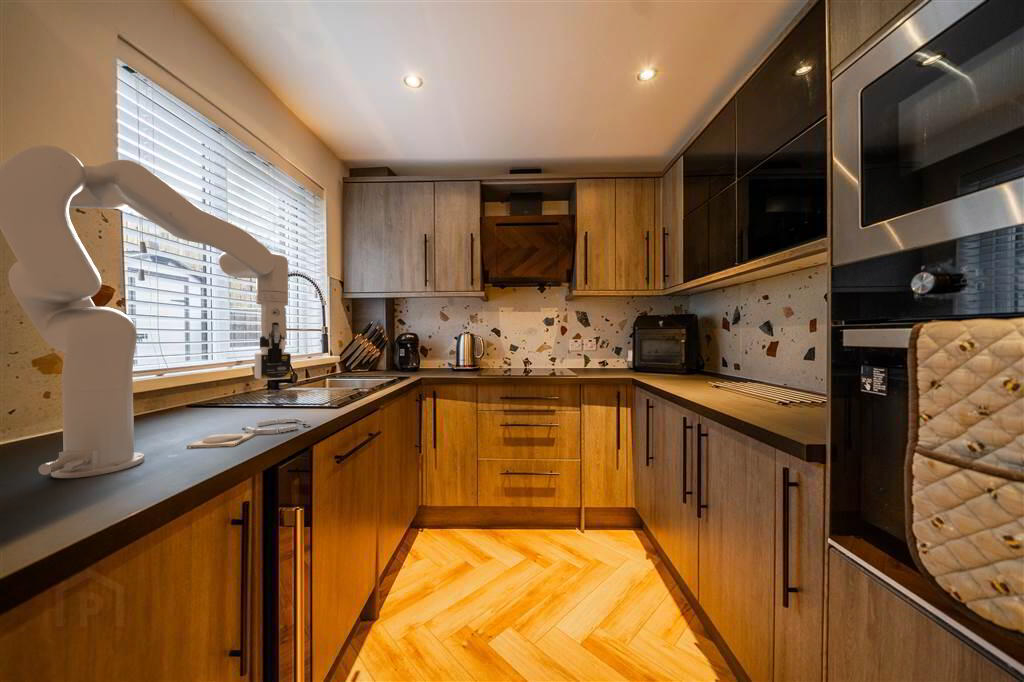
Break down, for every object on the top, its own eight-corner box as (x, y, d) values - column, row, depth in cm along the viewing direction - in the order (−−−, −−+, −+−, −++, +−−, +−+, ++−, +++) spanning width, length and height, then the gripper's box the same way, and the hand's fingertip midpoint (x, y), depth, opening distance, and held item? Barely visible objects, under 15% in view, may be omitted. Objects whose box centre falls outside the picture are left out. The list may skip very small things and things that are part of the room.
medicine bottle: (261, 380, 103) (261, 335, 103) (254, 378, 108) (254, 335, 108) (290, 378, 108) (291, 335, 108) (283, 376, 113) (283, 335, 113)
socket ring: (300, 432, 104) (300, 428, 104) (229, 435, 101) (229, 430, 101) (317, 421, 118) (317, 417, 118) (255, 423, 115) (255, 419, 115)
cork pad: (234, 446, 91) (234, 443, 91) (186, 448, 90) (186, 445, 90) (255, 435, 101) (255, 432, 101) (212, 437, 100) (212, 434, 100)
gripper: (294, 297, 104) (293, 363, 104) (282, 302, 117) (282, 361, 117) (260, 295, 99) (260, 365, 99) (252, 300, 112) (252, 361, 112)
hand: (272, 362), depth 108 cm, fingers closed on medicine bottle, 7 cm apart
